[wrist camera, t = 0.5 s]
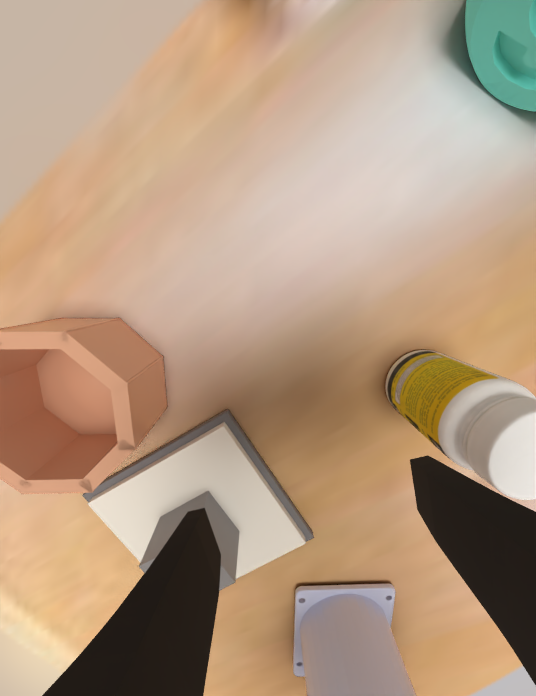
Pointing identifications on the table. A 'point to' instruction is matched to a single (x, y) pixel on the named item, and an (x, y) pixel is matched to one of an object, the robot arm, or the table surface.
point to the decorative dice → (504, 48)
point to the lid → (202, 505)
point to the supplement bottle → (470, 417)
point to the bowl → (74, 402)
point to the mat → (195, 433)
